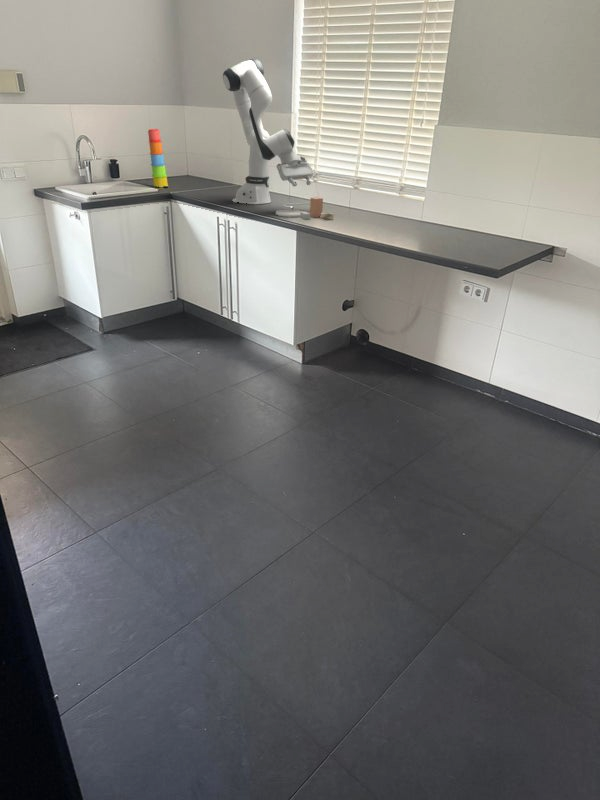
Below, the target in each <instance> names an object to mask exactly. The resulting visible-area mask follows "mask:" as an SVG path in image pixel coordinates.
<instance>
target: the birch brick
mask: <svg viewBox="0 0 600 800" xmlns="http://www.w3.org/2000/svg"><path fill="white" fill-rule="evenodd" d="M320 218H321V219H333V220H334V213H333V212H322V213H321V217H320ZM321 219H320V220H321Z"/></svg>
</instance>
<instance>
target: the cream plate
mask: <svg viewBox="0 0 600 800" xmlns="http://www.w3.org/2000/svg"><path fill="white" fill-rule="evenodd" d="M300 212H304V211H302V210H299V209H280V210H276V211H275V215H276V216H277V215H278V216H277V217H281V216H282V217H283V218H300Z"/></svg>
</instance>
